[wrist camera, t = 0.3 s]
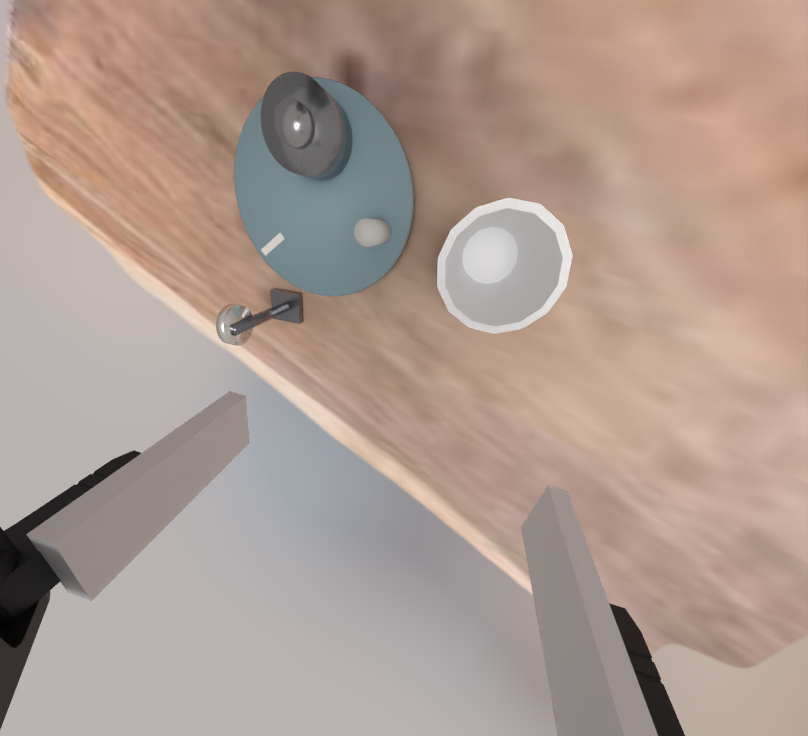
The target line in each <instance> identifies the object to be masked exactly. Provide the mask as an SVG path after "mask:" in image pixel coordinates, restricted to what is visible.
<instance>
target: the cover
mask: <svg viewBox="0 0 808 736" xmlns="http://www.w3.org/2000/svg"><path fill="white" fill-rule="evenodd" d="M261 128H262V133H263V137H264V140H265V143H266V145H267V147H268V149H269V151H270V153H271V154H272V156H273V157H274V159H275V160H276V161H277V162H278V163H279V164H280V165H281V166H282V167H283V168H285V169H286V170H288V171H290V172H292V173H295V174H298V175H301V176H305V177H308V178H311V179H315V180H320V181H325V180H330V179H332V178H334V177H336V176H337V175H339V174H340V173H341V172H342V171H343V170H344V168H345V167H346V165H347V163H348V161H349V159H350V155H351V151H352V143H353V140H352V129H351V125H350V122H349V119H348V117H347V114H346V112H345V111H344V109H343V108H342V106H341V105H340V104H339V103H338V102H337V101H336V100H335V99H334V98H333V97H332V96H331V95H330V94H329V93H328V92H327V91H326V90H325V89H324V88H323V87H322V86H321V85H320V84H318V83H317V82H316V81H315V80H314V79H313V78H311V77H309V76H308V75H306V74H303V73H299V72H288V73H284V74H282V75H280V76H279V77H277V78H276V79H275V80H274V81H273V82H272V83H271V84H270V85H269V87H268V89H267V91H266V93H265V95H264V98H263V101H262V106H261Z"/></svg>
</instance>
